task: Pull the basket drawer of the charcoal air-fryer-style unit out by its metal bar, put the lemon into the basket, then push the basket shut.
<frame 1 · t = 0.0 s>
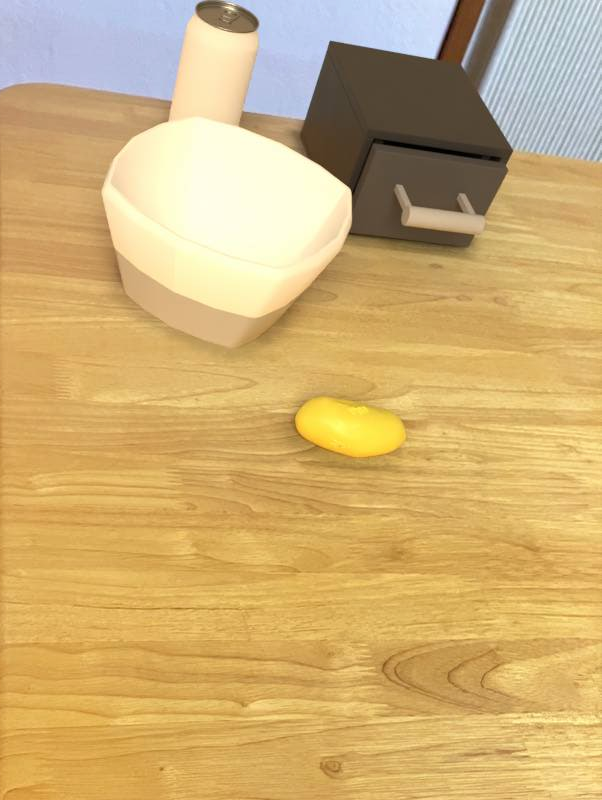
bowl: (205, 294, 71), on the table
drawer: (411, 171, 80), point 5 cm above the table, slide at 0.5 cm
lemon: (341, 447, 64), on the table
cabinet: (378, 189, 87), on the table
can: (197, 150, 84), on the table
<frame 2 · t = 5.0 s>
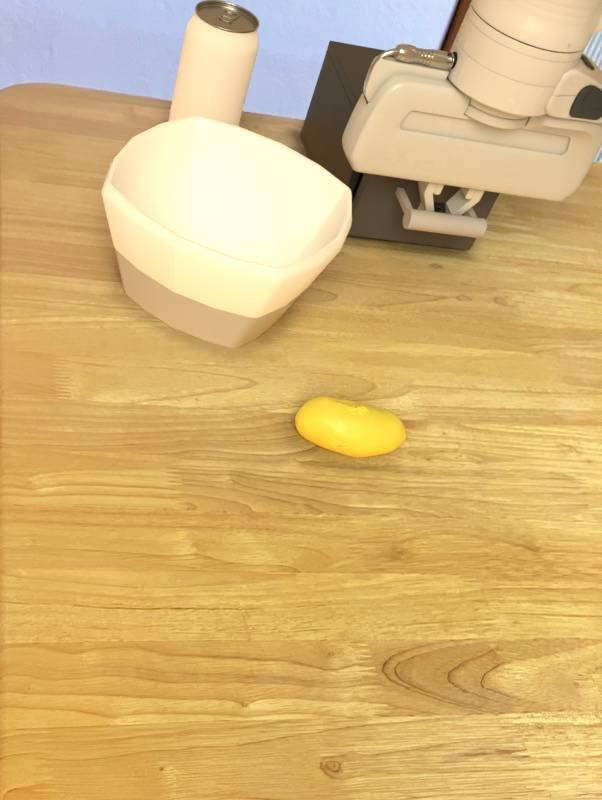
hand: (430, 226, 76), 4 cm above the table, tool pointing down, fingers closed
drawer: (412, 174, 80), point 5 cm above the table, slide at 1.0 cm, touching gripper
everything else where it was.
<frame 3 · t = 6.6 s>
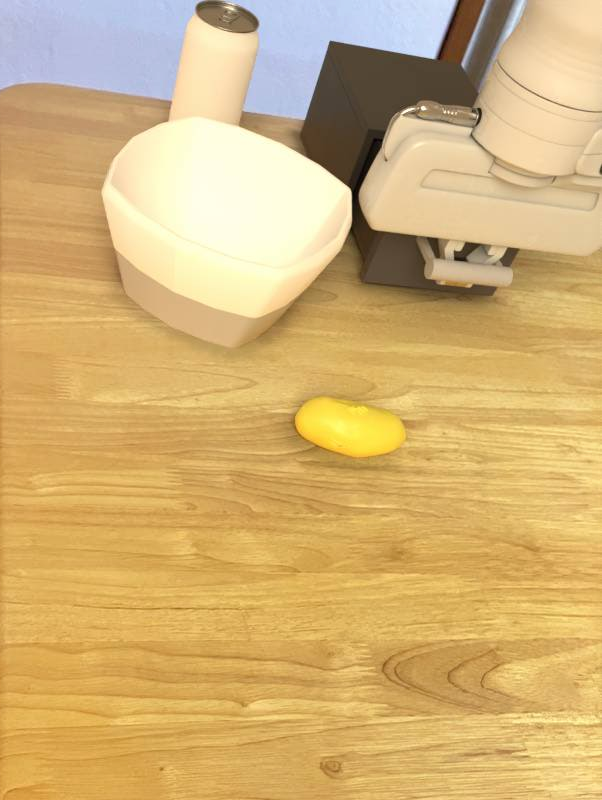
hand: (450, 281, 73), 4 cm above the table, tool pointing down, fingers closed, pressing on drawer
drawer: (432, 217, 76), point 5 cm above the table, slide at 7.6 cm, touching gripper
everything else where it was.
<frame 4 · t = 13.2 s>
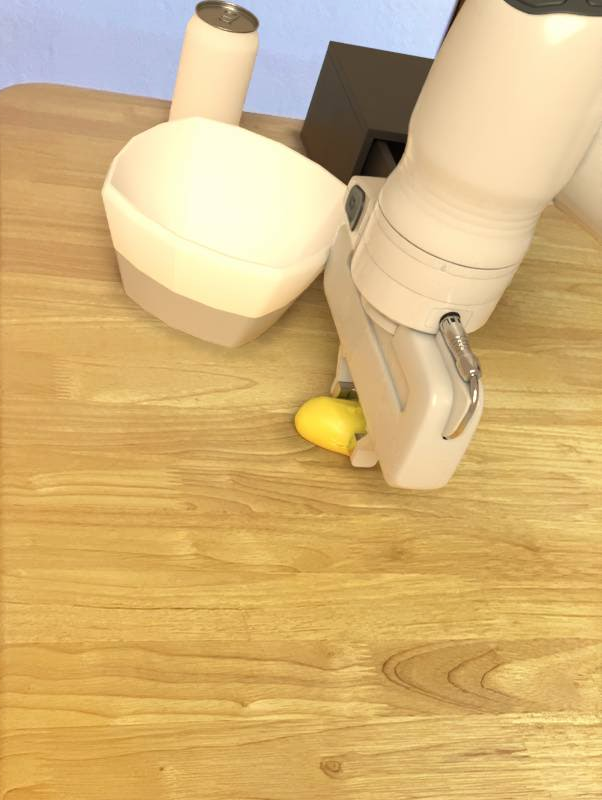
hand: (350, 429, 62), 2 cm above the table, tool pointing down, fingers closed on lemon, 4 cm apart
drawer: (432, 217, 76), point 5 cm above the table, slide at 7.6 cm
lemon: (341, 447, 63), on the table, touching gripper
everything else where it was.
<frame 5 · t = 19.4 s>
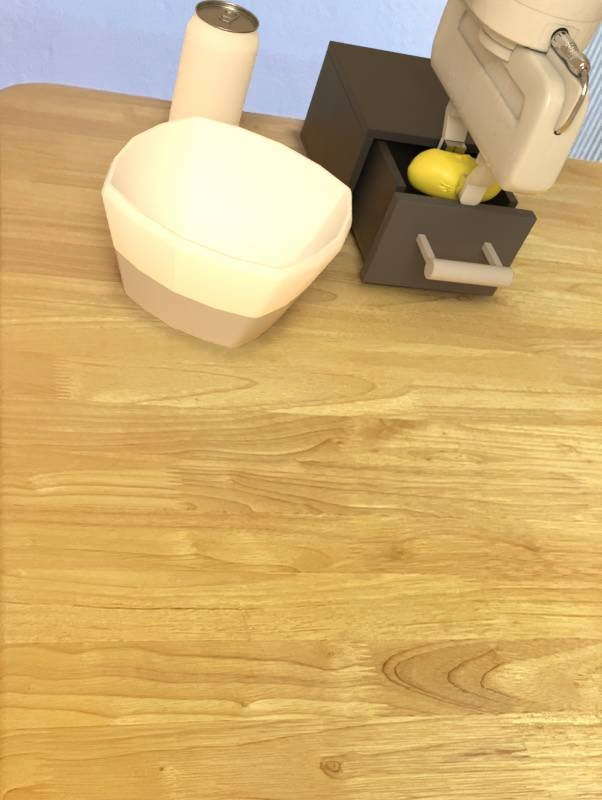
hand: (455, 180, 73), 9 cm above the table, tool pointing down, fingers closed on lemon, 4 cm apart
drawer: (432, 217, 76), point 5 cm above the table, slide at 7.6 cm, touching gripper
lemon: (444, 200, 74), point 7 cm above the table, touching gripper
everything else where it was.
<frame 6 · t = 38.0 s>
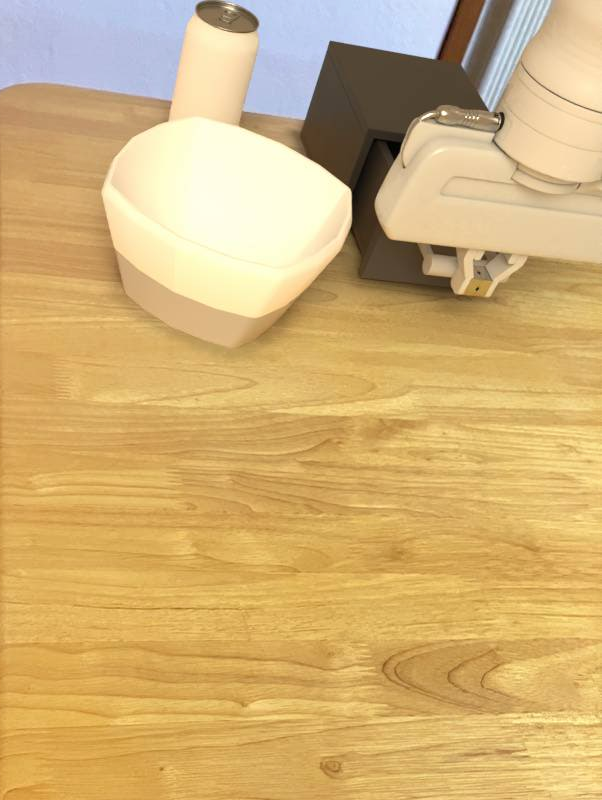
hand: (468, 291, 70), 5 cm above the table, tool pointing down, fingers closed, pressing on drawer
drawer: (430, 213, 76), point 5 cm above the table, slide at 7.1 cm, touching gripper, lemon
lemon: (421, 249, 78), point 2 cm above the table, touching drawer
everything else where it was.
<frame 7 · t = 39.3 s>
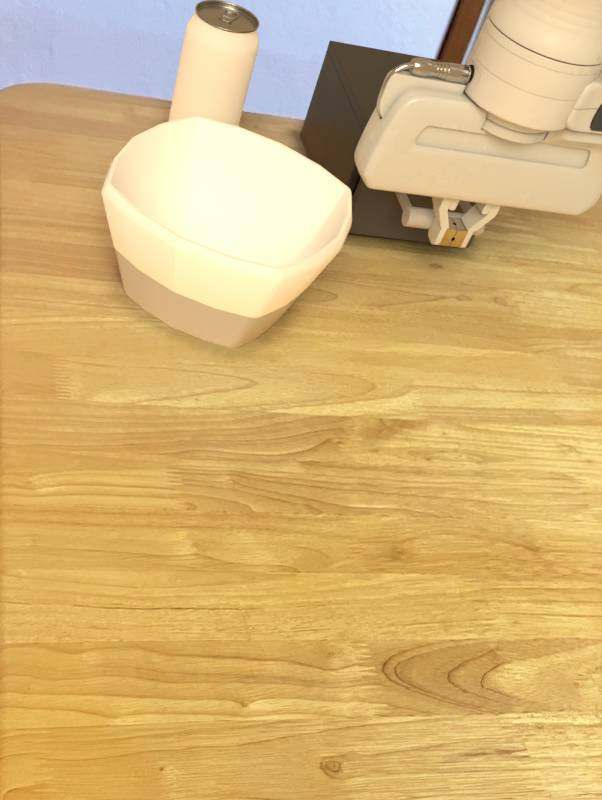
hand: (445, 242, 74), 5 cm above the table, tool pointing down, fingers closed, pressing on drawer
drawer: (411, 172, 80), point 5 cm above the table, slide at 0.6 cm, touching gripper, lemon
lemon: (402, 206, 82), point 2 cm above the table, touching drawer
everything else where it was.
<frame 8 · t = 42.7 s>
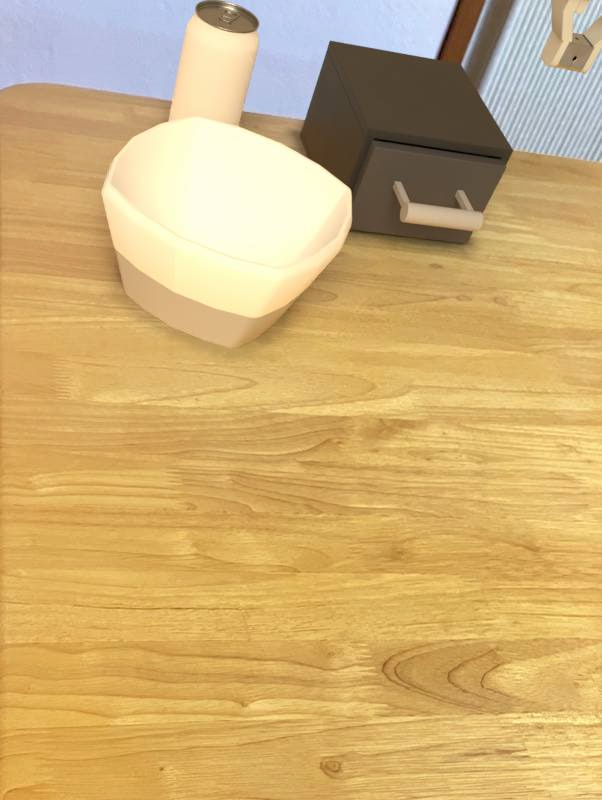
hand: (562, 66, 59), 21 cm above the table, tool pointing down, fingers closed
drawer: (409, 168, 81), point 5 cm above the table, slide at 0.0 cm, touching lemon
everything else where it was.
at the end: drawer pulled out 7.7 cm at the most during the clip, back to where it started at the end; lemon inside the target area in the cabinet (5.0 cm from its centre), point 1.8 cm above the cabinet's base; drawer slide at 0.0 cm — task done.
